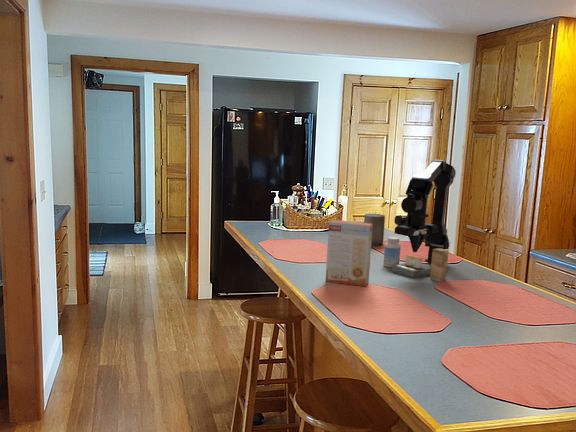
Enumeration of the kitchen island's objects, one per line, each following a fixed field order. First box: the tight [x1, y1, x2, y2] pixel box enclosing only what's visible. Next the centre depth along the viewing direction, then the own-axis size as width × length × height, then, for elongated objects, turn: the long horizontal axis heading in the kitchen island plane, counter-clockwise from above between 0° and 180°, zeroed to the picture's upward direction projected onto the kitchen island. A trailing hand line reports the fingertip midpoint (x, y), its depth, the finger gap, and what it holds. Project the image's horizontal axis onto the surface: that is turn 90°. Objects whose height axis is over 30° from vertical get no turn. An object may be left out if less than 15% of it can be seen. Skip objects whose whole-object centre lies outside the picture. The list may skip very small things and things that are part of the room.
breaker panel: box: [391, 262, 431, 279], centre depth 197 cm, size 12×10×3 cm
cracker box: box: [325, 219, 373, 287], centre depth 178 cm, size 14×6×21 cm, turn 71°
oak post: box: [429, 248, 450, 282], centre depth 189 cm, size 4×4×11 cm
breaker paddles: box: [404, 254, 424, 268], centre depth 196 cm, size 2×7×4 cm, turn 38°
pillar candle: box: [363, 212, 386, 246], centre depth 249 cm, size 10×10×15 cm
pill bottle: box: [382, 236, 401, 268], centre depth 206 cm, size 6×6×11 cm
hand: (414, 252), depth 196 cm, fingers closed
